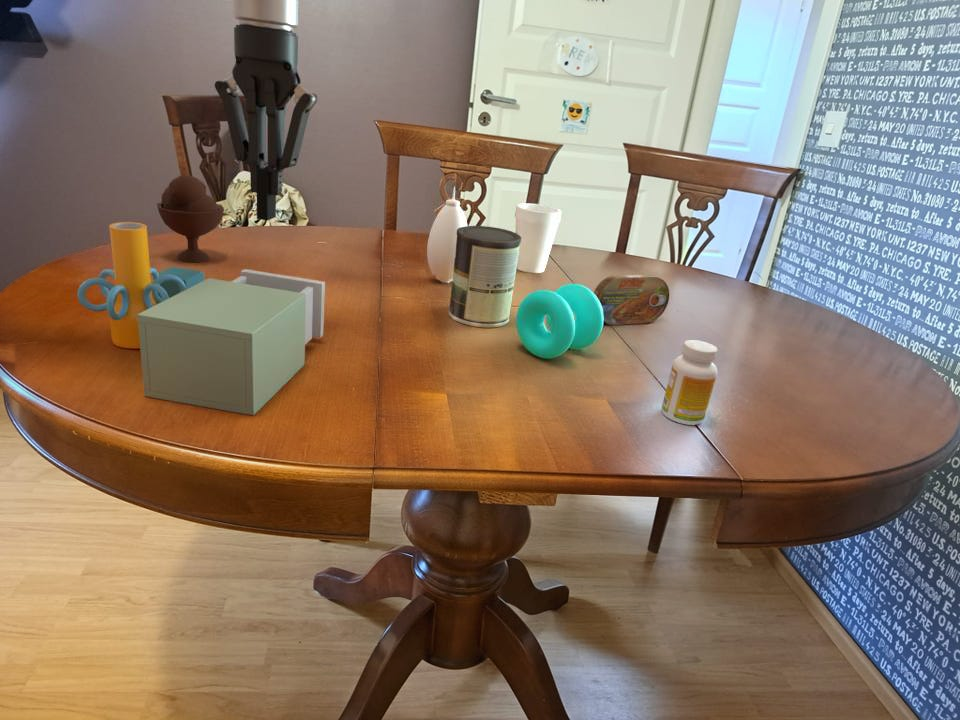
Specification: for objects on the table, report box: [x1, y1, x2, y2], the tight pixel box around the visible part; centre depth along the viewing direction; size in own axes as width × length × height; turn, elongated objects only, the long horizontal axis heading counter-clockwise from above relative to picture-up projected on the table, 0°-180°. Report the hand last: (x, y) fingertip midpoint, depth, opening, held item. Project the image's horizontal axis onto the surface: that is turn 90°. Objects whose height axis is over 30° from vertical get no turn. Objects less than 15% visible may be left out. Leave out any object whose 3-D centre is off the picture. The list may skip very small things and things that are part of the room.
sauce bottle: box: [426, 185, 468, 284], centre depth 123 cm, size 8×8×18 cm
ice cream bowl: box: [156, 174, 225, 264], centre depth 118 cm, size 11×11×15 cm
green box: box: [137, 277, 306, 416], centre depth 77 cm, size 15×13×10 cm
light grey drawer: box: [230, 268, 326, 346], centre depth 88 cm, size 20×11×8 cm, turn 172°
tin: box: [593, 274, 670, 326], centre depth 115 cm, size 15×3×8 cm, turn 114°
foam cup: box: [514, 202, 562, 274], centre depth 140 cm, size 10×9×13 cm
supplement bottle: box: [661, 339, 718, 426], centre depth 83 cm, size 5×5×10 cm
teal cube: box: [158, 266, 205, 299], centre depth 98 cm, size 5×5×5 cm
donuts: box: [515, 283, 605, 360], centre depth 98 cm, size 10×10×10 cm
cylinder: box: [76, 221, 186, 350], centre depth 83 cm, size 12×10×15 cm
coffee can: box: [448, 225, 522, 329], centre depth 107 cm, size 10×10×14 cm
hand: (266, 217), depth 90 cm, fingers closed
